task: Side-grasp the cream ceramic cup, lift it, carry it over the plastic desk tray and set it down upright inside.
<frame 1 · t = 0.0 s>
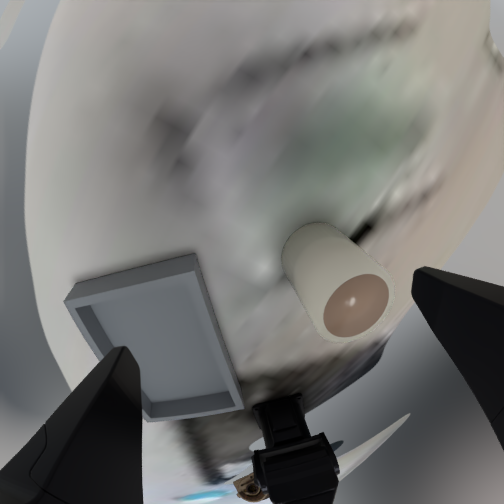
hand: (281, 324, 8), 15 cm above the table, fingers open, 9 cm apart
ceramic cup: (314, 255, 24), on the table
brown wooden mallet: (256, 476, 45), on the table
desk tray: (164, 346, 25), on the table
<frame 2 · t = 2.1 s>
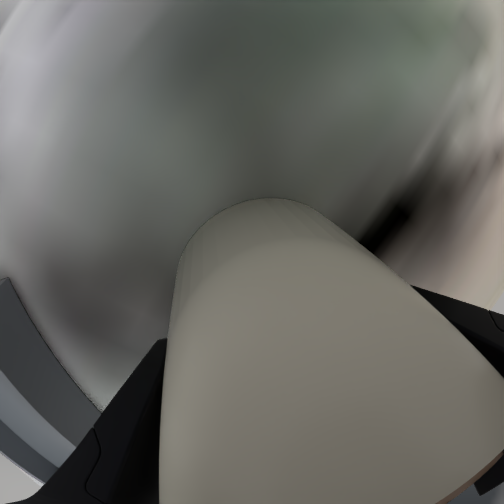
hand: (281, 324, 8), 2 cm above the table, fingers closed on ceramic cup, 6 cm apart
ceramic cup: (266, 286, 9), on the table, touching gripper
desk tray: (36, 414, 11), on the table
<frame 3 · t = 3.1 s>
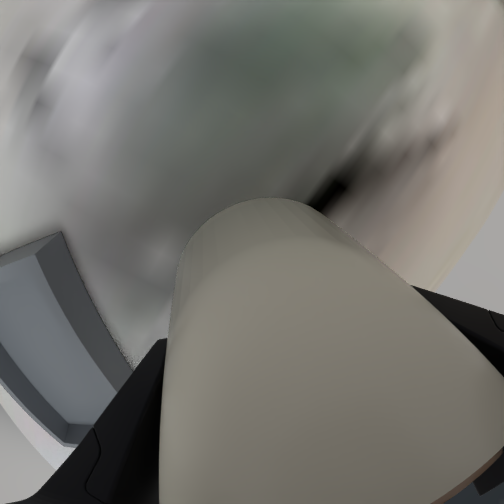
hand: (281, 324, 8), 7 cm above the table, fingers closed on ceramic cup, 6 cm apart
ceramic cup: (266, 285, 9), point 5 cm above the table, touching gripper
desk tray: (59, 360, 16), on the table
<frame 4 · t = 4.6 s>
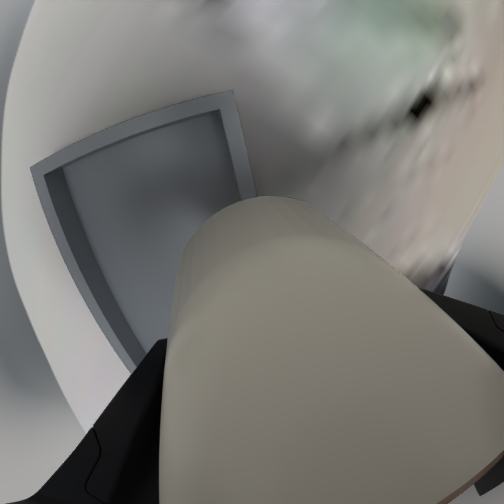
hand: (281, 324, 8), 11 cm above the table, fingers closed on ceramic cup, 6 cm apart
ceramic cup: (267, 284, 9), point 9 cm above the table, touching gripper
desk tray: (173, 257, 18), on the table
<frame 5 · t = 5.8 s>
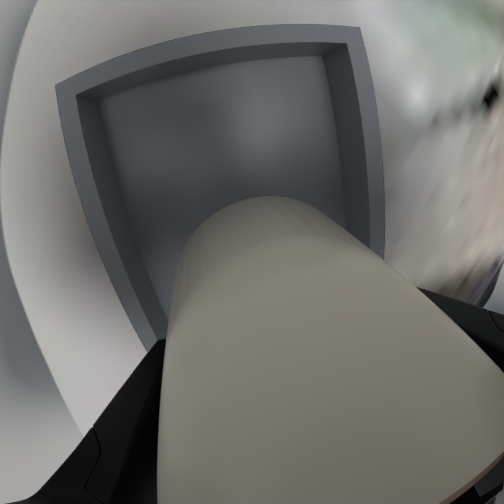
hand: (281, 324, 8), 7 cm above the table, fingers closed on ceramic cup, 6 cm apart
ceramic cup: (266, 284, 9), point 5 cm above the table, touching gripper
desk tray: (245, 235, 14), on the table
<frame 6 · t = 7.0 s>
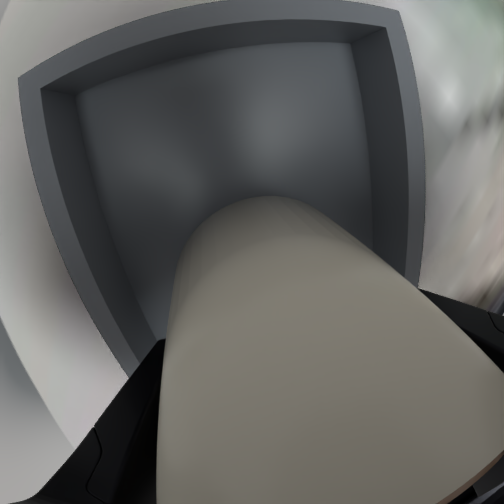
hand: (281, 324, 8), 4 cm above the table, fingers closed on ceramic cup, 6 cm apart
ceramic cup: (265, 284, 9), point 2 cm above the table, touching gripper
desk tray: (255, 259, 11), on the table
when the fingers open (4 cm above the table, at t = 7.1 s): ceramic cup drops 1 cm, resting on desk tray.
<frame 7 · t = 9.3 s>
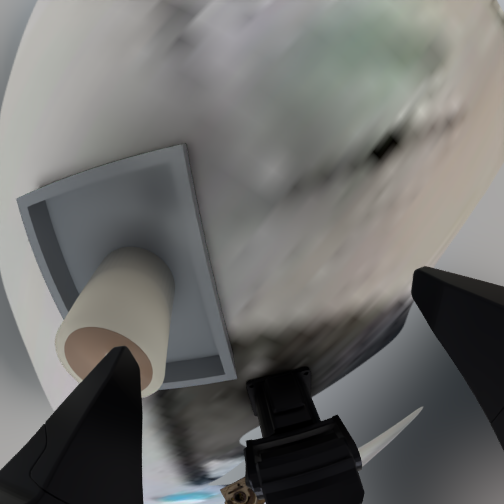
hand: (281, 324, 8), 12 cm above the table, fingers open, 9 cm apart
ceramic cup: (135, 285, 19), point 1 cm above the table, touching desk tray
brown wooden mallet: (248, 483, 40), on the table
desk tray: (136, 281, 19), on the table
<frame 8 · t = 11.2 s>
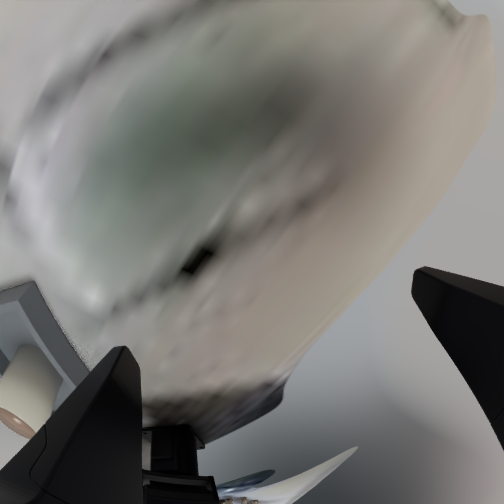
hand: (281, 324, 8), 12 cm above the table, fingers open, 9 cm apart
ceramic cup: (39, 365, 20), point 1 cm above the table, touching desk tray
unicorn figurine: (255, 497, 46), on the table
desk tray: (41, 362, 21), on the table
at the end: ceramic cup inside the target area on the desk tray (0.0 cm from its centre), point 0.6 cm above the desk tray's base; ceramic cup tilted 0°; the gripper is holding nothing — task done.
